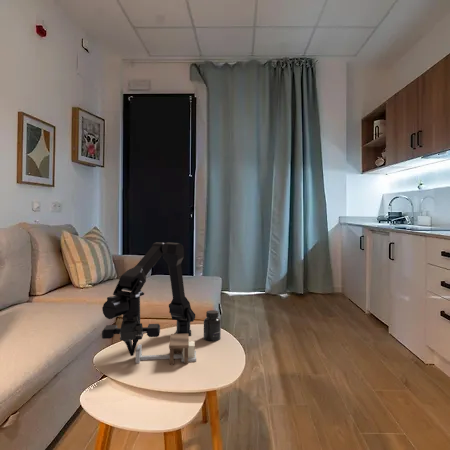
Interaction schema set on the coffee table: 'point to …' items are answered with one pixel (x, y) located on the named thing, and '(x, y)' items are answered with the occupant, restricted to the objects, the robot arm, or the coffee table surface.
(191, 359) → the grey flanged bar
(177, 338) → the walnut tunnel
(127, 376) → the coffee table surface
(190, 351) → the cream block
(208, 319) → the supplement bottle
